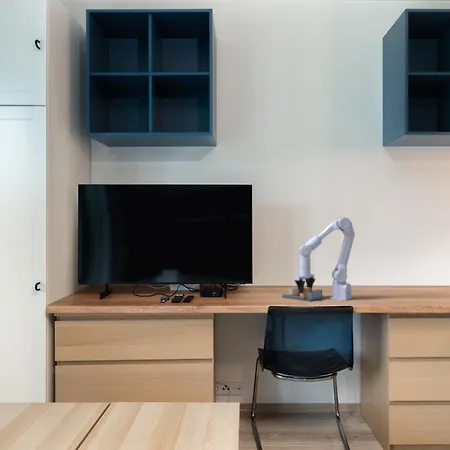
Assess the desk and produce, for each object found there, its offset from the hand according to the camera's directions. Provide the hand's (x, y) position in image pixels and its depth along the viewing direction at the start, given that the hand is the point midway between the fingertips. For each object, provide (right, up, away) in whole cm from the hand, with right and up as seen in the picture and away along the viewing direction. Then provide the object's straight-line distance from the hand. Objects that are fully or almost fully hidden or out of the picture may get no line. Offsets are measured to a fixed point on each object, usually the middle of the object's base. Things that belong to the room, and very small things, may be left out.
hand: (305, 292), depth 237 cm
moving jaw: (-4, -2, +4) cm, 6 cm away
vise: (-1, -3, +1) cm, 4 cm away
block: (0, -2, 0) cm, 2 cm away
